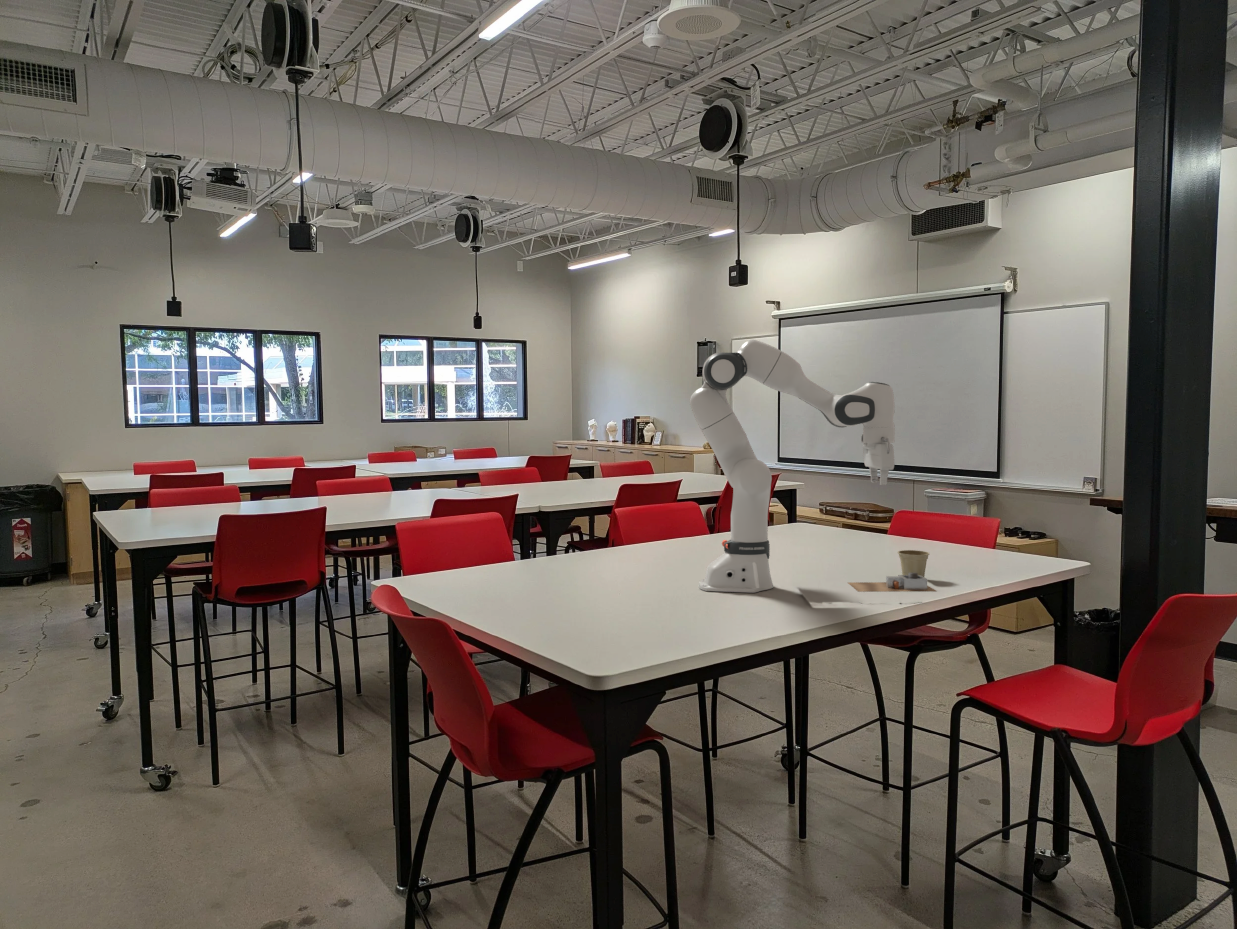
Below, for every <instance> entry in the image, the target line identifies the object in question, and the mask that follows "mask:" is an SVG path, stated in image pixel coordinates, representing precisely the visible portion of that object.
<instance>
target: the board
mask: <svg viewBox="0 0 1237 929" xmlns="http://www.w3.org/2000/svg"><path fill="white" fill-rule="evenodd" d="M908 578H918V573H912V572H911V573H908ZM847 584H848V585H850V586H851V587H852V588H853V589H855V591H857V592H859V593H860V592H861V593H862V592H863V593H865V592H870V593H871V592H877V593H878V592H880V593H881V592H886V593H887V592H900V593H901V592H937V590H936V589H934V588H933V587H931V586H929V585H928V584H927V590H904V589H903V588H899V582H898V581H895V582H894V588H887V587H886V581H885V582H884V581H883V582H881V581H880V582H879V581H878V582H877V581H876V582H872V581H871V582H869V581H868V582H867V581H866V582H859V581H855V582H852V581H851V582H847Z"/></svg>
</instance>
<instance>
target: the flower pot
mask: <svg viewBox="0 0 1237 929" xmlns="http://www.w3.org/2000/svg"><path fill="white" fill-rule="evenodd" d="M897 554H898V557H899V559H900V566H901V575H908V573H911V572H912V573H918V575H921V576H923V577H925V574H926V567H927V562H928V559H929V556H930V552H929V551H925V550H918V549H917V550H916V549H914V550H913V549H904V550H902V549H901V550H898V551H897Z"/></svg>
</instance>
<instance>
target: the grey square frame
mask: <svg viewBox="0 0 1237 929" xmlns="http://www.w3.org/2000/svg"><path fill="white" fill-rule="evenodd" d="M895 581H898V582H899V588H903V589H904V590H927V585H928V578H926V577H925V576H924V577H923V576H921V575H918V578H908V575H902V574H898V575H897V576H896V575H895V576H889V575H886V577H885V582H886V587H887V588H894V582H895Z"/></svg>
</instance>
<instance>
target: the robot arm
mask: <svg viewBox="0 0 1237 929" xmlns="http://www.w3.org/2000/svg"><path fill="white" fill-rule="evenodd" d="M701 374H702V375H701V376H702V380H701V381H702V382H701V383H702V384H701V386H700V387H699V388H697V389H696V390H695V391H694V392H693V393H692V394H691V396H690V399H689V405H690V407H691V408H690V409H691V411H692V413H693V416H694V418H695V420H696V423H697V425H698V426H699V428H700V431H701V432H702V434H703V436H704V437H705V439H706V441H707V443H708V444H709V446H710V448H711V450H712V451H713V453H714V455H715V457H716V460H717V461H718V464H719V465H720V468H721V470H722V472H723V473H724V476H725V477H726V479H727V482H728V484H729V485H730V486H731V488H733V489H732V490H733V491H732V492H733V493H732V503H731V511H730V539H729V540H727V539H724V540H722V541H721V545H722V547H723V551H724V552H723V553H722V554H721V555H719V556H718V557H717V558H715V559H714V560H712V561H711V562H710V563H709V564H708V566H707V567H706V572H705V578H704V579H701V580H699V581H698V588H699V589H700V590H702V591H705V592H722V593H723V592H725V593H726V592H727V593H728V592H729V593H731V592H732V593H749V594H750V593H751V594H752V593H754V594H755V593H758V592H761V591H766V590H771V589H773V588H774V584H773V579H772V575H771V569H770V562H769V559H770V557H771V555H770V552H771V551H770V550H771V548H770V541H769V539H768V536H769V533H768V532H769V531H768V530H769V529H768V528H769V526H768V525H769V524H768V521H769V520H768V518H769V505H770V498H771V486H772V480H773V477H772V472H771V469H770V468H769V466H768V465H767V464H766V463H765V462H763V461H761V460H759V459H758V458H757V456H756V454H755V452H754V450H753V447H752V445H751V444H750V441H749V438H748V436H747V435H748V434H747V433H746V431H745V429H744V427H743V426H742V424H741V423H740V421H739V420H738V417H737V416H736V414H735V411H734V410H733V409H732V406H731V405H730V404H729V403H730V402H729V401H728V398H727V390H729V389H730V388H732V387H734V386H735V385H736V384H738V383H739V382H740V381H741V379H742V378H744V377H749V378H751V379H754V381H757V382H759V383H761V384H762V385H764V386H766V387H768V388H770V389H773V390H775V391H777V392H781V393H783V394H787V395H791V396H793V397H795V398H798V399H800V400H801V401H803V402H805V403H806V404H808V405H810V406H812V407H814V408H815V409H816V410H818V411H820V413H822V414H821V415H823V416H824V418H825V419H826V420H827V422H829V424H830V425H832V426H833V427H836V428H847V427H855V426H857V425H861V424H862V425H863V426H862V427H863V428H862V429H863V430H862V431H863V432H862V434H861V436H860V442H861V443H862V454H863V455H862V456H863V462H864V466H865V467H866V468H867V467H868V468H869V471H868V472H869V475H870V482H871V483H873V484H877V483H878V482H879V485H880V486H886V485H888V478H889V472H890V471H893V470H894V468H895V450H894V445H893V444H895V434H896V433H895V431H896V430H895V428H896V427H895V423H894V415H895V410H896V409H895V408H896V407H895V396H894V390H893V387H892V386H891V385H889V384H888V383H884V382H879V381H878V382H877V381H868V382H866V383H865V384H864V385H862V386H860V387H859V388H858V389H857V388H856V389H855V390H853V391H850V392H847V393H845V394H839V393H837V394H836V393H833V392H830V391H828V390H826V389H825V388H823V387H822V386H820V385H819V384H817V383H815V382H814V381H811V380H810V379H809V378H808V377H807V376H806V375H805V373H804V371H803V368H802V366H801V364H800V363H799V362H798V361H797V360H796V359H794V357H792V356H791V355H789V354H787V353H786V352H784V351H782V350H781V349H779V348H777V347H774V346H772V345H770V344H767V343H765V342H763V341H760V340H756V339H748V340H747V341H745V342H743V343H742V344H741V346H740V347H739V348H738V350H737V351H736V352H724V351H723V352H721V351H720V352H714V353H712V354H711V355H709V356H708V357H707V358H706V359H705V361H704V363H703V366H702V372H701ZM878 471H879V473H880V474H879V476H878ZM879 477H880V478H879Z"/></svg>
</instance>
